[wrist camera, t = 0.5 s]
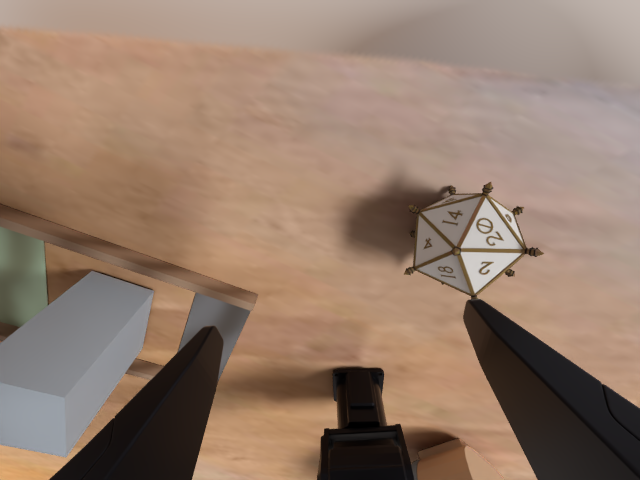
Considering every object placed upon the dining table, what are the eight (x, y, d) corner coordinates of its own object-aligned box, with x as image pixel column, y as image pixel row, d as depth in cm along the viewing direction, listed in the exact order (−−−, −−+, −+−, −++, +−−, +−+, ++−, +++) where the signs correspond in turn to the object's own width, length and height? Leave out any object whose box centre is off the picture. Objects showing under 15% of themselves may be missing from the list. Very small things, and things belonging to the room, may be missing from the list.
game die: (408, 200, 27) (371, 200, 18) (510, 170, 22) (523, 151, 14) (431, 287, 27) (404, 327, 18) (538, 275, 22) (569, 322, 13)
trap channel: (258, 294, 28) (254, 304, 27) (216, 385, 36) (212, 396, 35) (-129, 158, 22) (-159, 163, 20) (-74, 306, 30) (-92, 316, 29)
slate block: (154, 290, 28) (64, 397, 18) (142, 348, 32) (66, 457, 23) (91, 270, 27) (-39, 373, 17) (89, 333, 31) (-15, 441, 22)
